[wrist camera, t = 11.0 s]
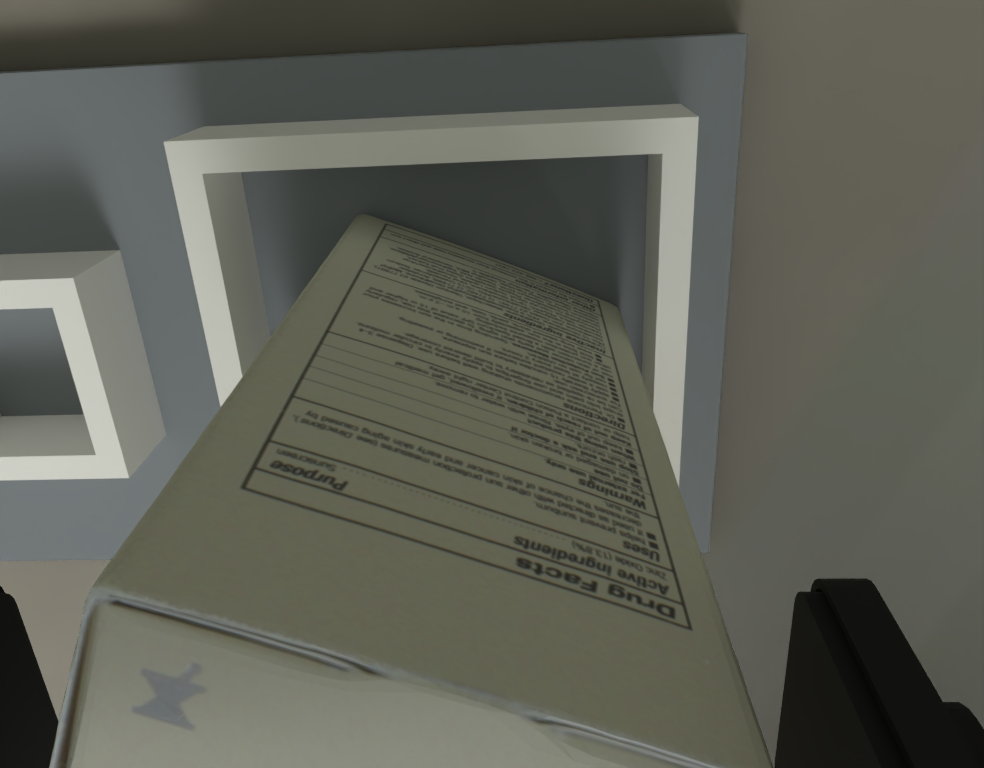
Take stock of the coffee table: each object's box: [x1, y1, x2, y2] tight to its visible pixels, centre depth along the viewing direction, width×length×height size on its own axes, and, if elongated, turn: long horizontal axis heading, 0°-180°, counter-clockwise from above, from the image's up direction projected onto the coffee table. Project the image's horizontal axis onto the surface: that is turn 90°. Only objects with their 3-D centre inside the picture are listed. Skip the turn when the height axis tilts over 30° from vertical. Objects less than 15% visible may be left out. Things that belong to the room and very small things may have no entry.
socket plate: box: [0, 32, 748, 561], centre depth 18 cm, size 20×12×3 cm, turn 93°
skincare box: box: [49, 214, 773, 768], centre depth 13 cm, size 6×4×12 cm
